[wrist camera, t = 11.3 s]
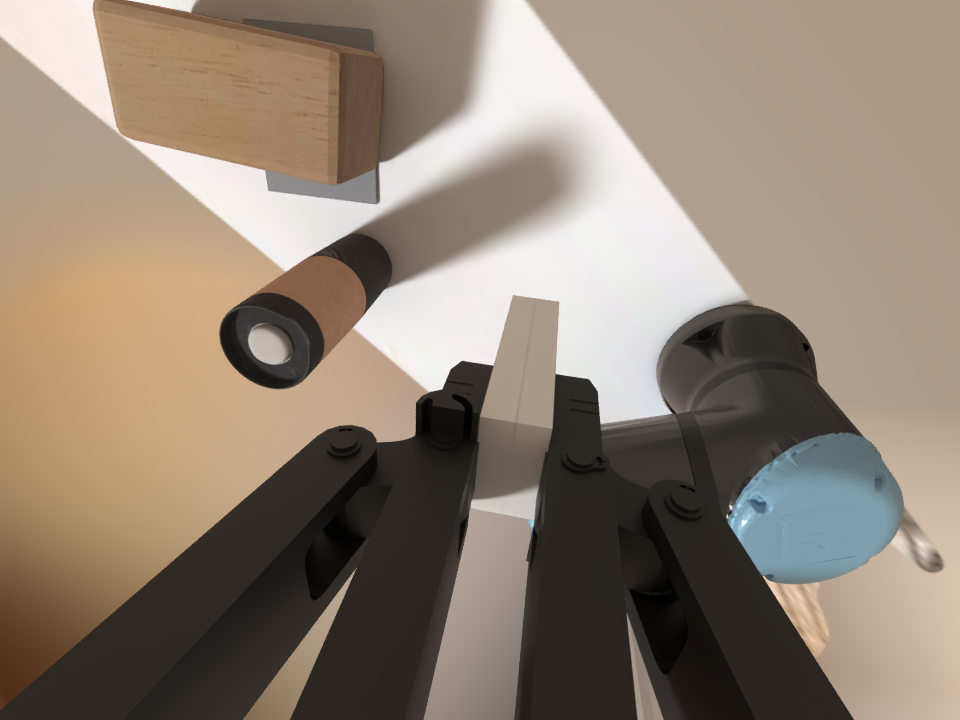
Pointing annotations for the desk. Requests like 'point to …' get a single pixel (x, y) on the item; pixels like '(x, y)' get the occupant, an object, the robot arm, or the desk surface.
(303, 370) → the travel mug
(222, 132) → the block
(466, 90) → the desk surface
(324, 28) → the mat
